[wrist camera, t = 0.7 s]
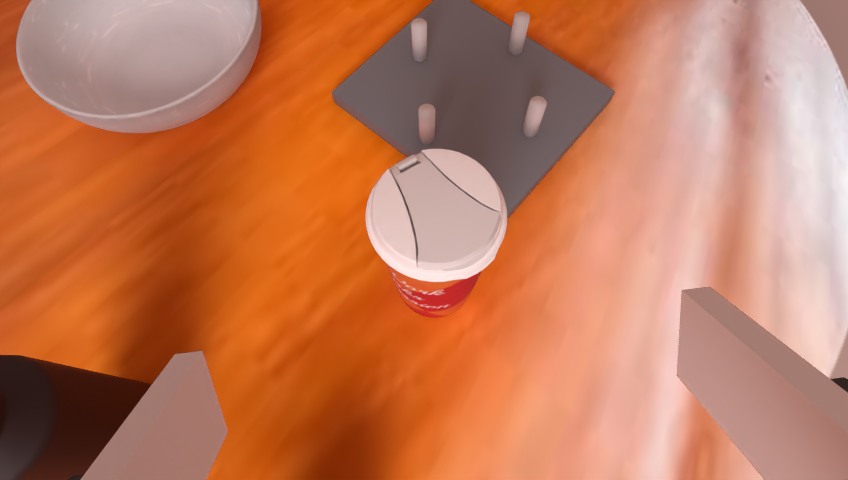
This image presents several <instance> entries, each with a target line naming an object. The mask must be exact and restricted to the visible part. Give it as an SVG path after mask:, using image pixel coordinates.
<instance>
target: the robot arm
mask: <svg viewBox="0 0 848 480" xmlns="http://www.w3.org/2000/svg"><path fill="white" fill-rule="evenodd" d="M677 376H678V378H679V379H680V380H681V381H682V382H683V384H684V385H685V386H686V387H687V388H688V390H689V391H690V392H691V393H692V394H693V395H694V397H695V398H696V399H697V400H698V401H699V403H700V404H701V405H702V406H703V407H704V409H705V410H706V411H707V412H708V413H709V414H710V416H711V417H712V418H713V419H714V420H715V422H716V423H717V424H718V425H719V426H720V428H721V429H722V430H723V431H724V432H725V433H726V435H727V436H728V437H729V438H730V439H731V441H732V442H733V443H734V444H735V445H736V447H737V448H738V449H739V450H740V451H741V452H742V454H743V455H744V456H745V457H746V458H747V460H748V461H749V462H750V463H751V464H752V466H753V467H754V468H755V469H756V470H757V471H758V473H759V474H760V475H761V476H762V477H763V479H764V480H848V379H846V378H835V379H829V378H828V377H827V376H825V375H824V374H823V373H821V372H820V371H819V370H818V369H816V368H815V367H814V366H812V365H811V364H810V363H808V362H807V361H806V360H805V359H803V358H802V357H801V356H799V355H798V354H797V353H795V352H794V351H793V350H792V349H790V348H789V347H788V346H786V345H785V344H784V343H782V342H781V341H780V340H779V339H777V338H776V337H775V336H773V335H772V334H771V333H769V332H768V331H767V330H766V329H764V328H763V327H762V326H760V325H759V324H758V323H756V322H755V321H754V320H753V319H751V318H750V317H749V316H747V315H746V314H745V313H743V312H742V311H741V310H740V309H738V308H737V307H736V306H734V305H733V304H732V303H730V302H729V301H728V300H727V299H725V298H724V297H723V296H721V295H720V294H719V293H717V292H716V291H715V290H714V289H712V288H711V287H703V288H695V289H687V290H682V294H681V312H680V329H679V346H678V364H677ZM227 433H228V430H227V427H226V424H225V421H224V417H223V414H222V411H221V408H220V405H219V402H218V398H217V395H216V392H215V389H214V386H213V382H212V379H211V376H210V373H209V370H208V366H207V363H206V360H205V357H204V354H203V351H196V352H188V353H180V354H175V355H174V356H173V357H172V359H171V360H170V361H169V363H168V364H167V365H166V367H165V368H164V369H163V370H162V372H161V373H160V374H159V376H158V377H157V378H156V380H155V381H154V382H153V384H152V385H151V386H150V388H149V389H148V390H147V392H146V393H145V394H144V396H143V397H142V398H141V400H140V401H139V402H138V404H137V405H136V406H135V408H134V409H133V410H132V412H131V413H130V414H129V416H128V417H127V418H126V420H125V421H124V422H123V424H122V425H121V426H120V428H119V429H118V430H117V432H116V433H115V434H114V436H113V437H112V438H111V440H110V441H109V442H108V444H107V445H106V446H105V448H104V449H103V450H102V452H101V453H100V454H99V456H98V457H97V458H96V460H95V461H94V462H93V464H92V465H91V466H90V468H89V469H88V470H87V472H86V473H85V474H80V475H72V476H71V477H70V478H69V479H68V480H206V479H207V477H208V474H209V472H210V470H211V468H212V466H213V463H214V461H215V459H216V457H217V455H218V453H219V450H220V448H221V446H222V444H223V442H224V439H225V437H226V435H227Z"/></svg>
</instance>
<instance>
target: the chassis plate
mask: <svg viewBox="0 0 848 480" xmlns="http://www.w3.org/2000/svg"><path fill="white" fill-rule="evenodd" d="M529 21H530V15H529V14H528V13H526V12H524V11H520V12H517V13H516V14H515V16H514V20H513V26H512V27H511V26H510V25H508V24H506V23H505V22H503V21H502V20H500V19H498V18H497V17H495V16H494V15H492V14H490V13H489V12H487V11H486V10H484V9H482V8H481V7H479V6H478V5H476V4H474V3H473V2H471V1H470V0H434V1H433V2H432V3H431V4H429V5H428V6H427V7H426V8H425V9H424V10H423V11H422V12H421V13H419V14H418V15H417V16H416V17H415V18H414V19H413V20H412V21H410V22H409V23H408V24H407V25H406V26H405V27H404V28H403V29H402V30H400V31H399V32H398V33H397V34H396V35H395V36H394V37H393V38H391V39H390V40H389V41H388V42H387V43H386V44H385V45H384V46H383V47H381V48H380V49H379V50H378V51H377V52H376V53H375V54H374V55H373V56H371V57H370V58H369V59H368V60H367V61H366V62H365V63H364V64H362V65H361V66H360V67H359V68H358V69H357V70H356V71H355V72H354V73H352V74H351V75H350V76H349V77H348V78H347V79H346V80H345V81H344V82H342V83H341V84H340V85H339V86H338V87H337V88H336V89H335V90H333V91H332V95H333V99H334V102H335V103H336V104H338V105H339V106H340V107H341V108H343V109H344V110H345V111H347V112H348V113H349V114H351V115H352V116H353V117H355V118H356V119H357V120H359V121H360V122H361V123H363V124H364V125H365V126H367V127H368V128H369V129H371V130H372V131H373V132H375V133H376V134H377V135H379V136H380V137H381V138H383V139H384V140H385V141H387V142H388V143H389V144H391V145H392V146H393V147H395V148H396V149H397V150H399V151H400V152H401V153H403V154H404V155H405V156H407V157H409V156H411V155H413V154H414V155H417V154H419V153H421V151H422V150H427V149H446V150H452V151H456V152H459V153H462V154H464V155H467V156H469V157H470V158H472V159H474V160H475V161H477V162H478V163H479V164H481V165H482V166H483V167H484V168H485V169H486V170H487V171H488V172H489V174H490V175H491V176H492V178H493V179H494V180H495V182H496V183H497V185H498V186H499V188H500V190H501V192H502V194H503V197H504V200H505V204H506V208H507V219H508V218H509V217H510V215H511V214H512V213H513V212H514V211H515V210H516V209H517V207H518V206H519V205H520V204H521V203H522V202H523V201H524V199H525V198H526V197H527V196H528V195H529V194H530V193H531V191H532V190H533V189H534V188H535V187H536V186H537V185H538V183H539V182H540V181H541V180H542V179H543V178H544V177H545V175H546V174H547V173H548V172H549V171H550V170H551V169H552V167H553V166H554V165H555V164H556V163H557V162H558V161H559V159H560V158H561V157H562V156H563V155H564V154H565V153H566V151H567V150H568V149H569V148H570V147H571V146H572V145H573V143H574V142H575V141H576V140H577V139H578V138H579V137H580V135H581V134H582V133H583V132H584V131H585V130H586V129H587V127H588V126H589V125H590V124H591V123H592V122H593V121H594V119H595V118H596V117H597V116H598V115H599V114H600V113H601V111H602V110H603V109H604V108H605V107H606V106H607V105H608V103H609V102H610V101H611V99H612V97H613V95H614V93H615V91H613V90H612V89H610V88H609V87H607V86H605V85H604V84H602V83H601V82H599V81H597V80H596V79H594V78H593V77H591V76H589V75H588V74H586V73H585V72H583V71H581V70H580V69H578V68H577V67H575V66H573V65H572V64H570V63H569V62H567V61H566V60H564V59H562V58H561V57H559V56H558V55H556V54H554V53H553V52H551V51H550V50H548V49H546V48H545V47H543V46H542V45H540V44H538V43H537V42H535V41H534V40H532V39H530V38H529V37H527V36H526V34H527V29H528V25H529Z"/></svg>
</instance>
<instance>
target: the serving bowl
mask: <svg viewBox="0 0 848 480" xmlns="http://www.w3.org/2000/svg"><path fill="white" fill-rule="evenodd" d="M261 31H262V20H261V10H260V4H259V0H31V1H30V3H29V4H28V6H27V8H26V10H25V12H24V14H23V16H22V19H21V21H20V24H19V28H18V32H17V39H16V54H17V60H18V64H19V67H20V70H21V72H22V74H23V76H24V78H25V80H26V82H27V83H28V84H29V86H30V87H31V88H32V89H33V90H34V92H35V93H36V94H38V95H39V96H40V97H41V98H42V99H43V100H45V101H46V102H47V103H49V104H50V105H52V106H53V107H55V108H56V109H58V110H60V111H61V112H63V113H64V114H66V115H68V116H70V117H72V118H74V119H76V120H78V121H80V122H82V123H85V124H88V125H90V126H93V127H97V128H100V129H104V130H108V131H114V132H121V133H152V132H159V131H165V130H169V129H173V128H176V127H180V126H183V125H186V124H188V123H191V122H193V121H195V120H197V119H199V118H201V117H203V116H205V115H207V114H208V113H210V112H212V111H213V110H215V109H216V108H217V107H219V106H220V105H221V104H223V103H224V102H225V101H226V100H227V99H228V98H229V97H230V96H232V95H233V94H234V92H235V91H236V90H237V89H238V88H239V87H240V85H241V84H242V83H243V81H244V80H245V78H246V77H247V75H248V74H249V72H250V70H251V68H252V66H253V64H254V62H255V59H256V56H257V53H258V50H259V45H260V40H261Z"/></svg>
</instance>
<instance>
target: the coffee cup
mask: <svg viewBox="0 0 848 480" xmlns="http://www.w3.org/2000/svg"><path fill="white" fill-rule="evenodd" d="M366 226H367V231H368V235H369V238H370V241H371V243H372V245H373V246H374V248H375V250H376V251H377V253H378V254H379V255H380V257H381V258H382V259H383V260H384V261H385V262H386V264H387V266H388V268H389V271H390V273H391V275H392V278H393V280H394V282H395V284H396V287H397V289H398V291H399V293H400V295H401V297H402V299H403V300H404V302H405V303H406V304H407V305H408V306H409V307H410V308H411V309H412V310H413V311H415V312H416V313H418V314H420V315H423V316H427V317H443V316H447V315H449V314H451V313H453V312H455V311H456V310H458V309H459V308H460V307H461V306H462V305H463V304H464V302H465V301H466V300H467V298H468V296H469V295H470V293H471V291H472V289H473V287H474V285H475V283H476V281H477V279H478V277H479V275H480V273H481V271H482V270H483V269H484V268H486V267H487V266H488V265H489V264H490V263H491V262H492V261H493V260H494V258H495V256H496V254H497V251H498V249H499V247H500V245H501V243H502V241H503V238H504V235H505V231H506V226H507V208H506V204H505V200H504V197H503V194H502V192H501V190H500V188H499V186H498V185H497V183H496V182H495V180H494V179H493V178H492V176H491V175H490V174H489V172H488V171H487V170H486V169H485V168H484V167H483V166H482V165H481V164H479V163H478V162H477V161H475V160H474V159H472V158H470V157H469V156H467V155H464V154H462V153H459V152H456V151H452V150H446V149H427V150H422V151H421V153H419V154H417V155H414V154H413V155H411V156H409V157H407V158H405V159H404V160H402V161H400V162H398V163H396V164H395V165H394V166H392V167H391V168H390V169H389V170H388V169H387V170H386V171H385V173H384V174H383V175H382V176H381V178H380V179H379V180H378V181H377V183H376V184H375V186H374V188H373V189H372V191H371V194H370V196H369V199H368V203H367V207H366Z"/></svg>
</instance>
